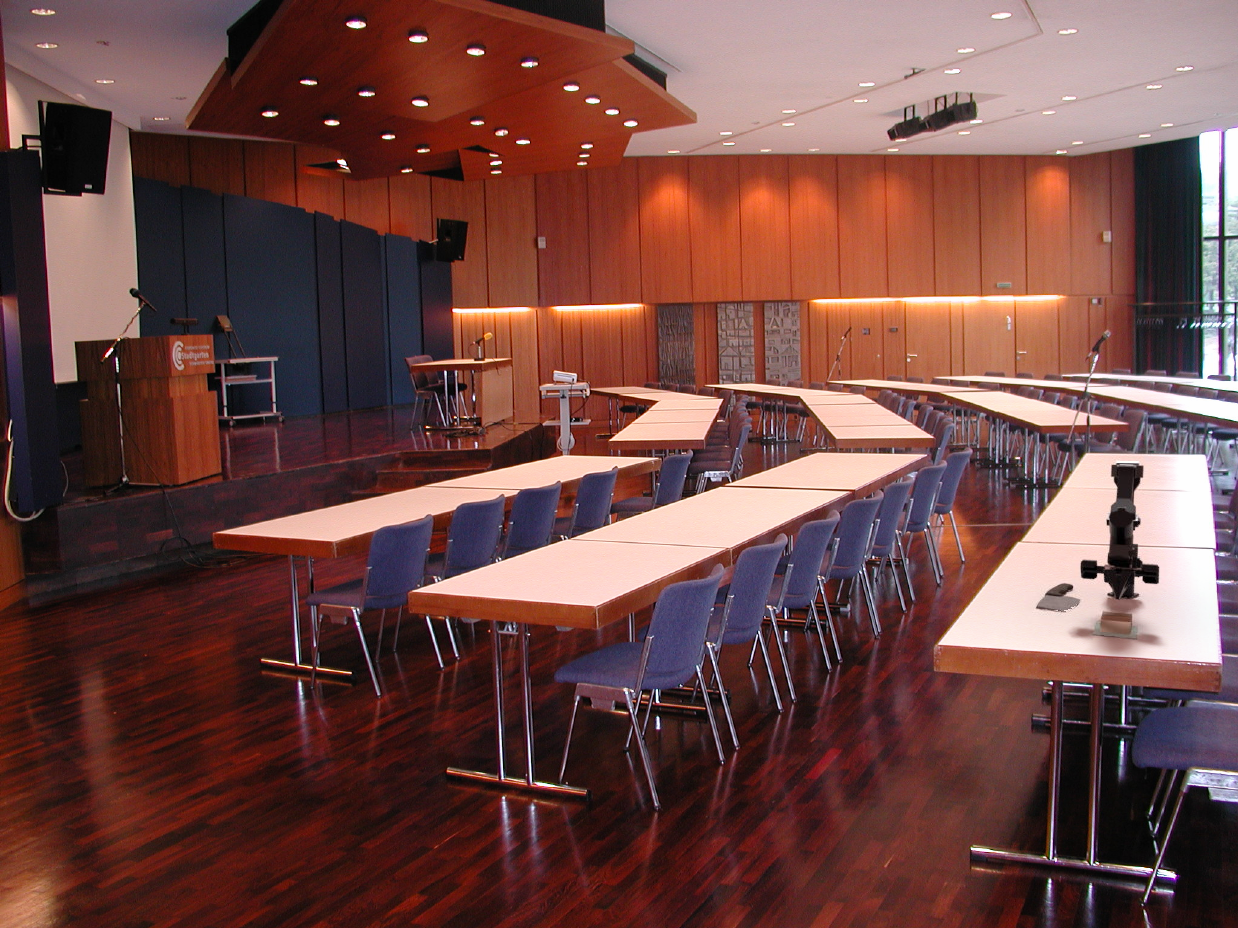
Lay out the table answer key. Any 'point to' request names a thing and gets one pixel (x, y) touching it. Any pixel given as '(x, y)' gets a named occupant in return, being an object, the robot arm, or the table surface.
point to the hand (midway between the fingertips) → (1117, 598)
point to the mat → (1119, 635)
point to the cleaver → (1058, 599)
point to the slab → (1116, 622)
